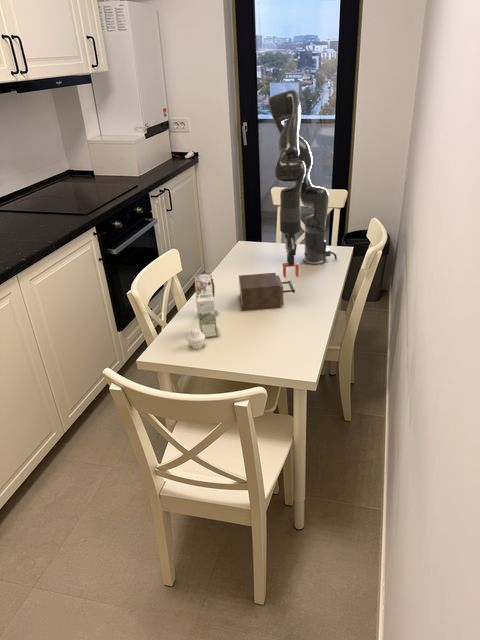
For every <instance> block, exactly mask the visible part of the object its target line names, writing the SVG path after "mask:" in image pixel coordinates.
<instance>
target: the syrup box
mask: <svg viewBox="0 0 480 640" xmlns="http://www.w3.org/2000/svg"><path fill="white" fill-rule="evenodd" d="M195 302H196V310H197V318H198V328H199V329H200V330H201V332H202V333H203V334H204V335H205V339H207V338H215V337H218V327H217V317H216V315H217V314H216V315H215V311H216V305H215V298H214V299H213V296H212V293H208V294H200V295H197V294H195Z"/></svg>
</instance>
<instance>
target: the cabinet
mask: <svg viewBox="0 0 480 640" xmlns="http://www.w3.org/2000/svg"><path fill="white" fill-rule="evenodd" d="M276 275H277V273H276V272H265V273H252V274H241V275H239V274H238V284H239V285H238V286H239V298H240V304H241V310H242V311H253V310H255V311H256V310H264V309H275V308H276V309H277V308H278V309H279V308H281V305H280V284H279V281H278V279H277V276H276Z"/></svg>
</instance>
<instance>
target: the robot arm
mask: <svg viewBox="0 0 480 640" xmlns="http://www.w3.org/2000/svg"><path fill="white" fill-rule="evenodd" d="M301 106H302V105H301V100H300V97H299V94H298V92H297V91H296V90H295V89H289V90H287V91H282V92H279V93H277V94H274V95H272V96H270V97H269V99H268V108H269V110H270V114H271V118H272V119H273V122H274V124H275V127H276V129H277V131H278V133H279V138H278V157H277V160H276V164H275V167H274V177H275V179H276V180H277V181H278V182H279V183H293V182H294V183H293V185H291V186H288V187H285V188H283V189H281V190H280V193H279V194H280V197H279V199H280V209H279V231H280V232H281V233H282V234H284V246H285V250H286V251H285V252H286V256H287V257H286V263H288V265H294V262H295V256H296V253H297V246H298V244H297V240H298V239H297V236H296V234H298V233H300V232H301V230H302V211H301V204H302V205H303V206H304V207H305V208H309V209H312V210H313V214H309V215H306V216H305V218H304V251H303V256H304V258H303V261H304V262H305V263H307V264H310V265H319V264H322V263H326V262H327V261H326V260H327V257H331V255H333V256H334V260H335V261H337V260H338V259H337V258H338V257H337V254H336V253H334V252H333V251H331V249H330V247H327V241H326V224H327V218H328V213H329V211H328V210H329V200H330V199H329V198H330V197H329V196H330V195H329V191H328V189H327V188H325V187H321V186H315V185H313V184H312V182H311V179H310V172H311V169H312V167H313V166H312V165H313V160H314V159H313V155H312V151H311V149H310V145H309V144H308V142H307V141H306V140H305V139H304V138H303V137H302V136H300V135H299V131H300V125H301V115H302V114H301V113H302V107H301ZM286 121H287V122H286Z"/></svg>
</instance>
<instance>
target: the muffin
mask: <svg viewBox="0 0 480 640" xmlns="http://www.w3.org/2000/svg"><path fill="white" fill-rule="evenodd" d="M186 340H187V342H188V344H189V346H191V348H193V349H195V350H199V349H201V348H202V347H203V345H204V343H205V340H206V338H205V335H204V334H203V333H202V332H201V330H200V329H199V327H193V328H191V329H190V331H189V333H188V335H187V336H186Z"/></svg>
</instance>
